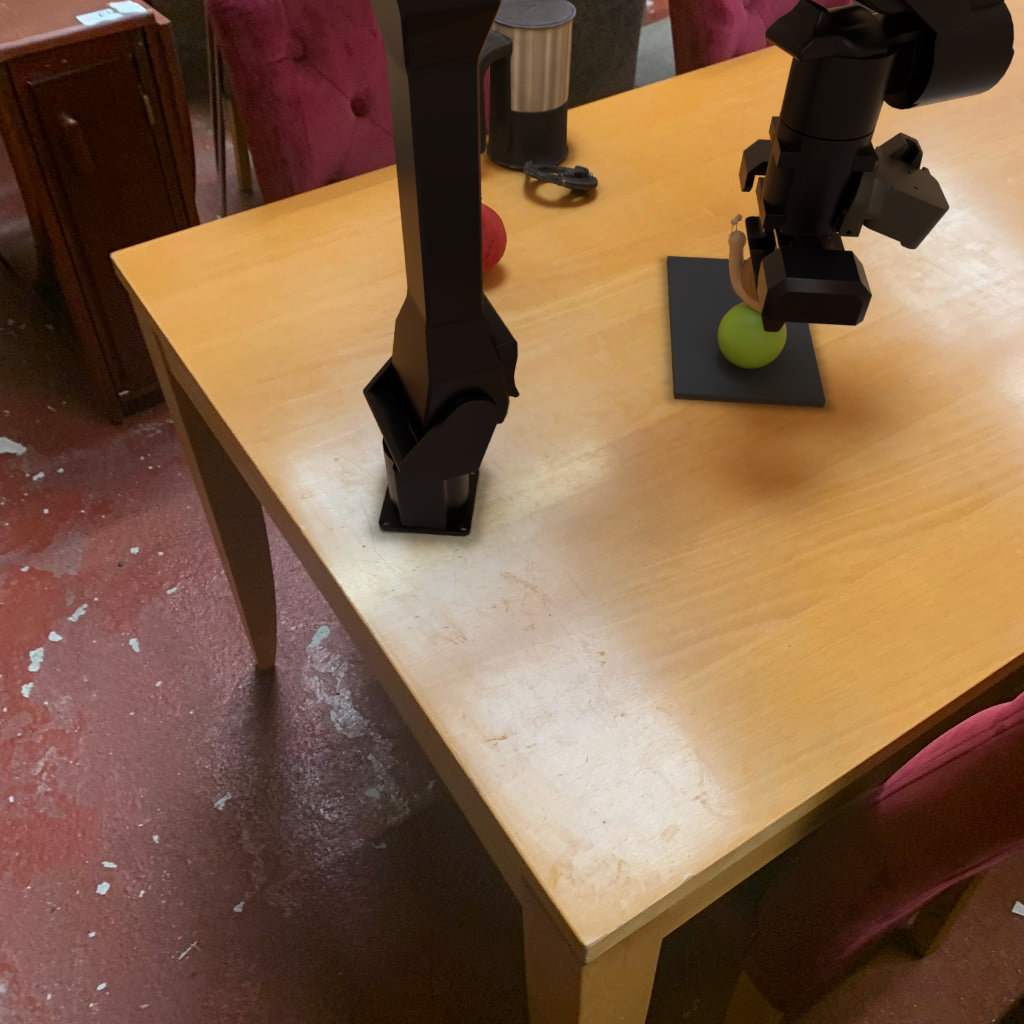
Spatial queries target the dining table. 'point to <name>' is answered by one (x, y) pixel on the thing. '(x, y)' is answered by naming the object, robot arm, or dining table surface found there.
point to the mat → (698, 359)
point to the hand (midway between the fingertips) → (770, 329)
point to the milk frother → (530, 91)
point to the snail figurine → (746, 314)
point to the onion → (492, 238)
